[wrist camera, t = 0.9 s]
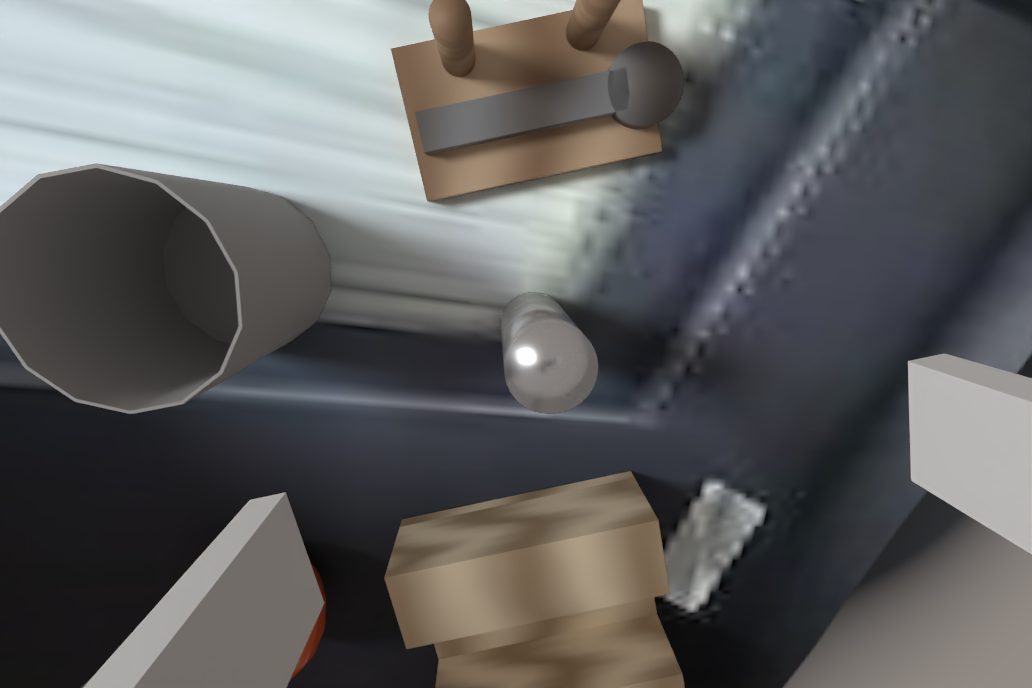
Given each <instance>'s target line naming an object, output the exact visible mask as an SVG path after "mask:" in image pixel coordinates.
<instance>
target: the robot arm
mask: <svg viewBox="0 0 1032 688" xmlns="http://www.w3.org/2000/svg"><path fill="white" fill-rule="evenodd" d="M908 381H909V419H910V458H911V481H913V482H914V483H916V484H918V485H919V486H921V487H923V488H924V489H926V490H927V491H929V492H931V493H932V494H934V495H936V496H937V497H939V498H941V499H942V500H944V501H946V502H947V503H949V504H950V505H952V506H954V507H955V508H957V509H958V510H960V511H962V512H963V513H965V514H967V515H968V516H970V517H971V518H973V519H975V520H976V521H978V522H980V523H981V524H983V525H985V526H986V527H988V528H989V529H991V530H993V531H994V532H996V533H998V534H999V535H1001V536H1003V537H1004V538H1006V539H1008V540H1009V541H1011V542H1012V543H1014V544H1015V545H1017V546H1019V547H1021V548H1022V549H1024V550H1025V551H1027V552H1029V553H1030V554H1032V378H1028V377H1024V376H1021V375H1018V374H1014V373H1011V372H1007V371H1004V370H1000V369H997V368H993V367H990V366H986V365H983V364H979V363H976V362H972V361H969V360H965V359H962V358H958V357H955V356H951V355H948V354H940V355H936V356H931V357H926V358H921V359H917V360H912V361H908ZM323 605H324V601H323V598H322V595H321V592H320V589H319V586H318V583H317V580H316V578H315V575H314V572H313V569H312V566H311V563H310V560H309V557H308V555H307V552H306V549H305V546H304V543H303V540H302V537H301V535H300V532H299V529H298V526H297V523H296V520H295V517H294V514H293V512H292V509H291V506H290V503H289V500H288V497H287V494H286V492H285V493H280V494H275V495H271V496H266V497H261V498H256V499H252V500H249V501H248V502H247V504H246V505H245V506H244V507H243V508H242V509H241V510H240V511H239V513H238V514H237V515H236V516H235V517H234V518H233V519H232V520H231V522H230V523H229V524H228V525H227V526H226V527H225V528H224V529H223V531H222V532H221V533H220V534H219V535H218V536H217V537H216V538H215V540H214V541H213V542H212V543H211V544H210V545H209V546H208V547H207V549H206V550H205V551H204V552H203V553H202V554H201V555H200V557H199V558H198V559H197V560H196V561H195V562H194V563H193V564H192V566H191V567H190V568H189V569H188V570H187V571H186V572H185V573H184V575H183V576H182V577H181V578H180V579H179V580H178V581H177V582H176V584H175V585H174V586H173V587H172V588H171V589H170V590H169V591H168V593H167V594H166V595H165V596H164V597H163V598H162V599H161V600H160V602H159V603H158V604H157V605H156V606H155V607H154V608H153V609H152V611H151V612H150V613H149V614H148V615H147V616H146V617H145V618H144V620H143V621H142V622H141V623H140V624H139V625H138V626H137V627H136V629H135V630H134V631H133V632H132V633H131V634H130V635H129V636H128V638H127V639H126V640H125V641H124V642H123V643H122V644H121V645H120V647H119V648H118V649H117V650H116V651H115V652H114V653H113V654H112V656H111V657H110V658H109V659H108V660H107V661H106V662H105V663H104V665H103V666H102V667H101V668H100V669H99V670H98V671H97V672H96V674H95V675H94V676H93V677H92V678H91V679H90V680H88V681H87V682H86V683H84V684H83V685H82V686H81V687H80V688H286V687H287V685H288V683H289V681H290V679H291V676H292V674H293V672H294V670H295V667H296V665H297V663H298V661H299V659H300V656H301V654H302V652H303V650H304V647H305V645H306V643H307V641H308V638H309V636H310V634H311V632H312V630H313V627H314V625H315V623H316V621H317V618H318V616H319V614H320V612H321V609H322V607H323Z"/></svg>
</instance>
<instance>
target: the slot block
mask: <svg viewBox="0 0 1032 688" xmlns="http://www.w3.org/2000/svg"><path fill="white" fill-rule="evenodd" d="M384 579H385V582H386V585H387V588H388V592H389V595H390V598H391V601H392V604H393V608H394V611H395V614H396V617H397V621H398V624H399V627H400V630H401V633H402V637H403V640H404V643H405V646H406V649H410V648H415V647H420V646H424V645H429V644H434V645H435V649H436V652H437V656H438V659H439V661H438V670H437V678H436V686H435V688H685V687H684V680H683V674H682V672H681V669H680V667H679V665H678V662H677V660H676V657H675V655H674V653H673V650H672V648H671V646H670V643H669V641H668V639H667V636H666V634H665V632H664V629H663V627H662V624H661V622H660V620H659V617H658V615H657V611H656V605H655V599H654V597H657V596H662V595H667V594H670V591H669V585H668V578H667V572H666V566H665V559H664V553H663V546H662V540H661V534H660V527H659V521H658V519H657V517H656V515H655V513H654V511H653V510H652V508H651V506H650V504H649V503H648V501H647V499H646V497H645V496H644V494H643V492H642V490H641V488H640V487H639V485H638V483H637V481H636V480H635V478H634V476H633V474H632V472H631V471H629V472H624V473H619V474H614V475H610V476H605V477H600V478H595V479H591V480H586V481H581V482H576V483H572V484H567V485H562V486H558V487H553V488H548V489H543V490H539V491H534V492H529V493H524V494H520V495H515V496H510V497H505V498H501V499H496V500H491V501H486V502H482V503H477V504H472V505H467V506H463V507H458V508H453V509H448V510H444V511H439V512H434V513H430V514H425V515H420V516H415V517H411V518H406V519H402V521H401V525H400V528H399V531H398V534H397V538H396V541H395V544H394V547H393V551H392V554H391V557H390V561H389V564H388V567H387V570H386V574H385V577H384Z"/></svg>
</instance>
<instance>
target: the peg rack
mask: <svg viewBox="0 0 1032 688" xmlns="http://www.w3.org/2000/svg"><path fill="white" fill-rule="evenodd" d="M429 22H430V25H431V28H432V32H433V35H434V38H435V40H430V41H425V42H421V43H416V44H411V45H406V46H402V47H397V48H392V49H391V51H392V55H393V60H394V64H395V68H396V72H397V76H398V81H399V85H400V89H401V93H402V97H403V102H404V106H405V110H406V114H407V118H408V123H409V127H410V131H411V135H412V139H413V143H414V148H415V152H416V156H417V160H418V164H419V169H420V173H421V177H422V181H423V185H424V190H425V194H426V198H427V201H429V202H431V201H435V200H440V199H445V198H450V197H454V196H459V195H464V194H468V193H473V192H478V191H483V190H487V189H492V188H497V187H501V186H506V185H511V184H516V183H520V182H525V181H530V180H534V179H539V178H544V177H549V176H553V175H558V174H563V173H567V172H572V171H577V170H582V169H586V168H591V167H596V166H600V165H605V164H610V163H615V162H619V161H624V160H629V159H633V158H638V157H643V156H648V155H652V154H656V153H659V152H661V151H662V147H661V139H660V131H659V122H660V121H662V120H664V119H665V118H667V117H668V116H669V115H670V114H671V113H672V112H673V111H674V109H675V108H676V106H677V105H678V103H679V101H680V99H681V96H682V92H683V86H684V77H683V71H682V68H681V65H680V63H679V61H678V59H677V57H676V56H675V55H674V54H673V52H672V51H670V50H669V49H668V48H667V47H665V46H663V45H661V44H659V43H656V42H648V39H647V31H646V23H645V16H644V8H643V0H576V3H575V6H574V8H573V10H571V11H566V12H561V13H557V14H552V15H547V16H543V17H538V18H533V19H529V20H524V21H519V22H514V23H510V24H505V25H500V26H496V27H491V28H486V29H482V30H477V31H473V28H472V18H471V11H470V8H469V5H468V3H467V2H466V1H465V0H433V2H432V3H431V5H430V8H429Z"/></svg>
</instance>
